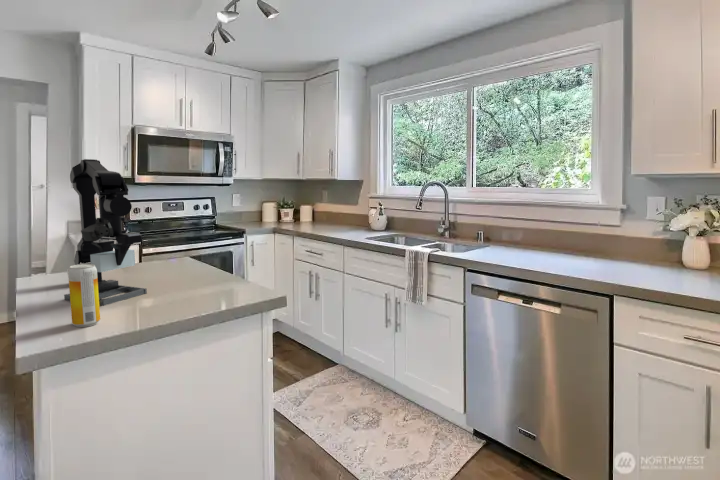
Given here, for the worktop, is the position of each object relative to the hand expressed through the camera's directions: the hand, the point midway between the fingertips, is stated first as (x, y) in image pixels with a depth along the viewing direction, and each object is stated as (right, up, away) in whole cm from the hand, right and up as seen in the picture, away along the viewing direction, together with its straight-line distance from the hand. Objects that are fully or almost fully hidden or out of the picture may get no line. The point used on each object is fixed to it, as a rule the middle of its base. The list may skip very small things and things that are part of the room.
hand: (113, 264), depth 133 cm
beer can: (+6, -14, -23) cm, 28 cm away
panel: (0, -1, 0) cm, 1 cm away
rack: (-4, -10, +2) cm, 11 cm away
